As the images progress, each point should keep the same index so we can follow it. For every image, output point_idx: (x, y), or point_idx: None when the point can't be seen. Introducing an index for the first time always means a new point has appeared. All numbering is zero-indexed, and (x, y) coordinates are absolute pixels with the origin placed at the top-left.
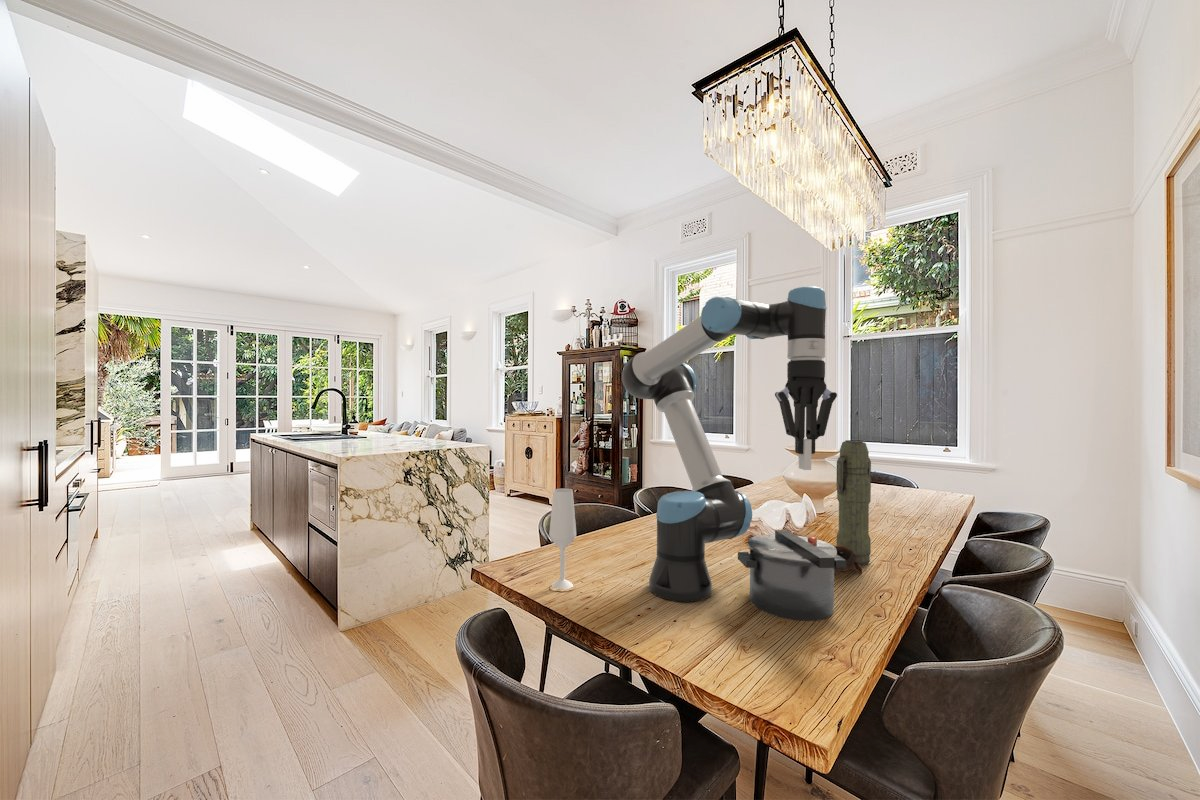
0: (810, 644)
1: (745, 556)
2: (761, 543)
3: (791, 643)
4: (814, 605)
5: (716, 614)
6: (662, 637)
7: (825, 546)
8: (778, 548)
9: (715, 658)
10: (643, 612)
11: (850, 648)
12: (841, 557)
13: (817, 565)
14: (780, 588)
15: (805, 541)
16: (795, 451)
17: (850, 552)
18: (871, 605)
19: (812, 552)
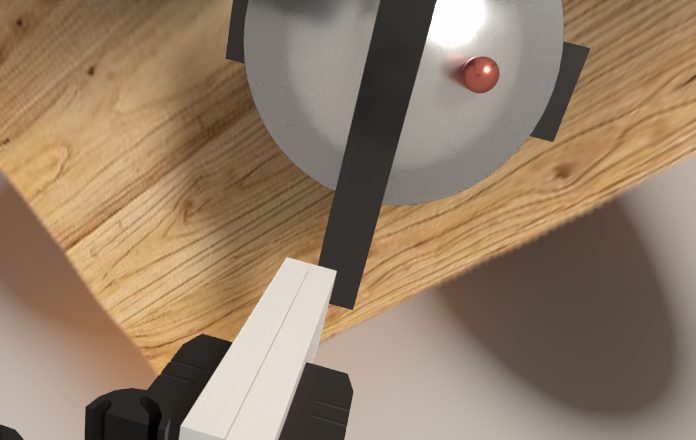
0: (313, 232)
1: (241, 17)
2: (295, 9)
3: (280, 219)
4: None
5: (190, 65)
6: (54, 133)
7: (507, 109)
8: (319, 87)
9: (127, 223)
10: (30, 11)
11: (376, 264)
12: (563, 112)
13: None
14: None
15: (394, 139)
16: (187, 344)
17: None
18: (605, 121)
19: (325, 253)
